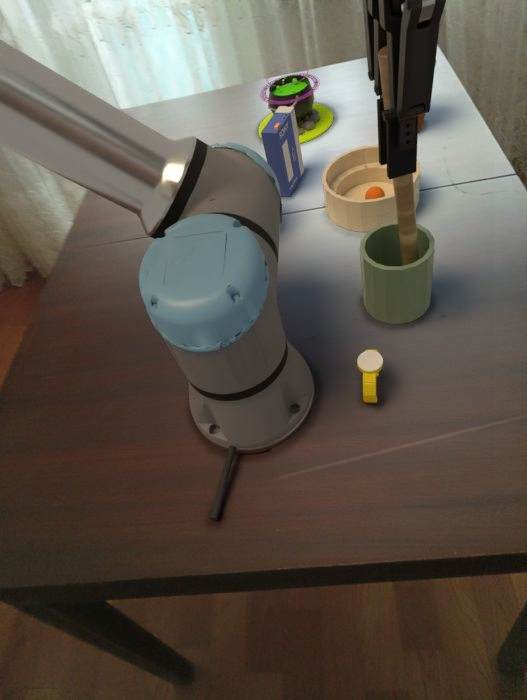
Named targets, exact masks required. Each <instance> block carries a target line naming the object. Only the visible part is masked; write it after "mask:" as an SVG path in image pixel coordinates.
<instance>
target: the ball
mask: <svg viewBox="0 0 527 700" xmlns="http://www.w3.org/2000/svg"><path fill="white" fill-rule="evenodd" d="M384 196H385V193H384V191H383V189H382V188H380V187H377V186H374V187H371V188H369V189H368V190H367V192H366V194H365V200H367V199H377V198H381V197H384Z"/></svg>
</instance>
